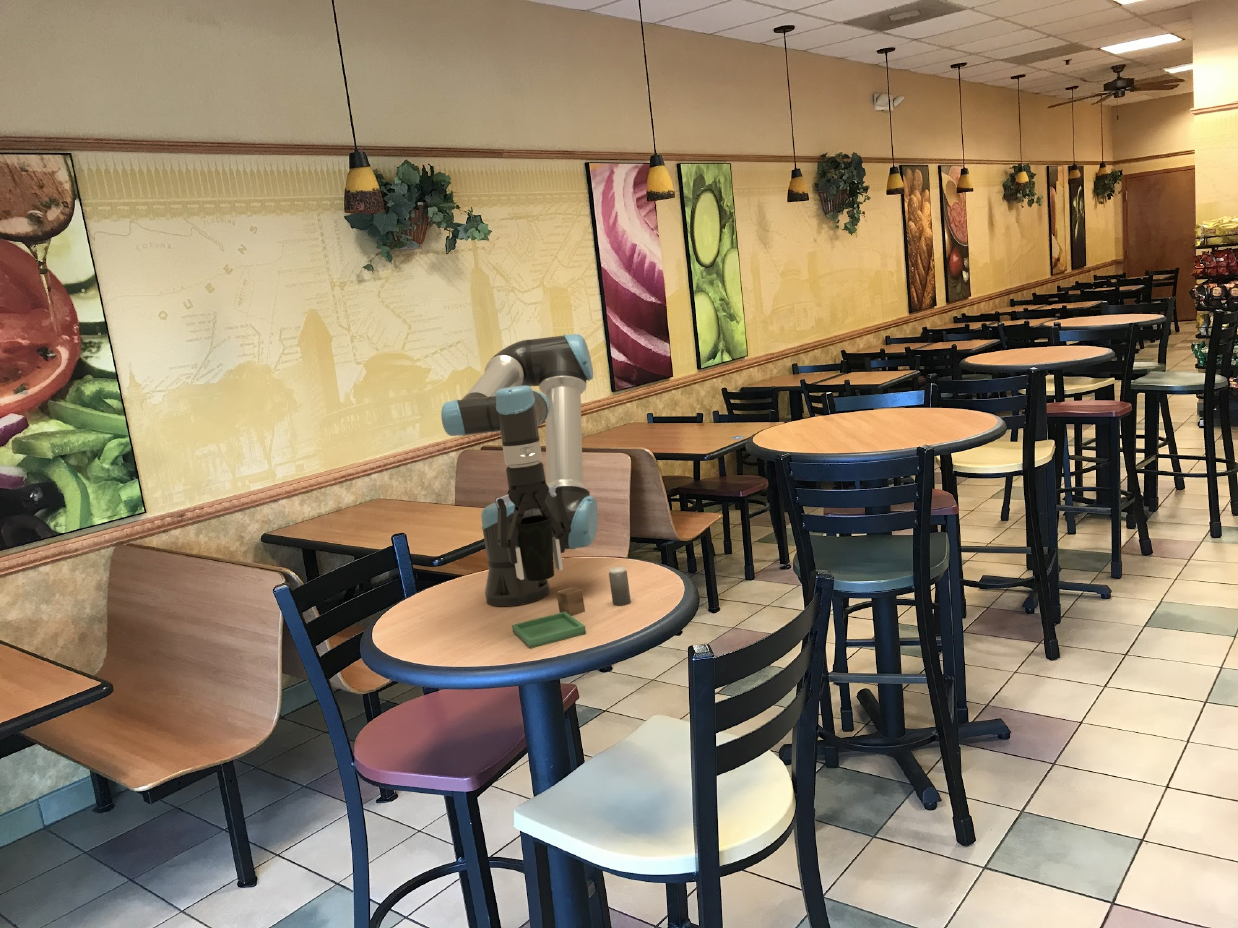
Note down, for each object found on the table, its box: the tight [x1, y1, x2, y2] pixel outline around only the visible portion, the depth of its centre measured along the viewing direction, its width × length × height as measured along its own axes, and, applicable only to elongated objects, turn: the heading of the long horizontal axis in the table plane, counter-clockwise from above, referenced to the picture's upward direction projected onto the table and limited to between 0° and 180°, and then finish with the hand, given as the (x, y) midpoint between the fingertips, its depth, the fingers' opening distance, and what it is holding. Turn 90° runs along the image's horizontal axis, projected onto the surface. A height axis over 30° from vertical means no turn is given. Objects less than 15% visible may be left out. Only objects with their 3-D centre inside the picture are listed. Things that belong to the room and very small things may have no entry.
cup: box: [517, 515, 555, 581], centre depth 190 cm, size 8×8×12 cm
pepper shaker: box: [608, 566, 632, 607], centre depth 206 cm, size 4×4×8 cm
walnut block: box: [556, 586, 586, 617], centre depth 204 cm, size 4×4×5 cm
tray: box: [511, 612, 587, 649], centre depth 193 cm, size 12×12×2 cm
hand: (540, 573), depth 191 cm, fingers closed on cup, 8 cm apart
